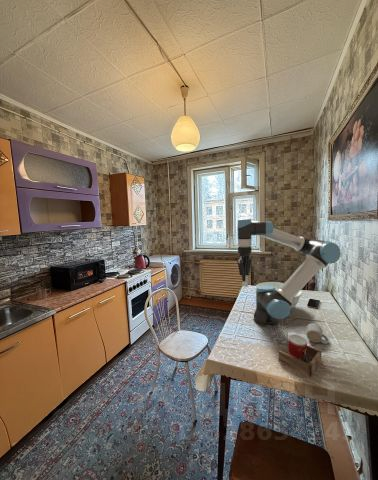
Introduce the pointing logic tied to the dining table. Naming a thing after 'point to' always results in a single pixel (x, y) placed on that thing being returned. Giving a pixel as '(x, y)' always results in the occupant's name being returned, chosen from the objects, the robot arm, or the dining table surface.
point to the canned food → (297, 347)
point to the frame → (300, 364)
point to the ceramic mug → (316, 333)
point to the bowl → (278, 286)
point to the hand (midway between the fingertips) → (245, 286)
